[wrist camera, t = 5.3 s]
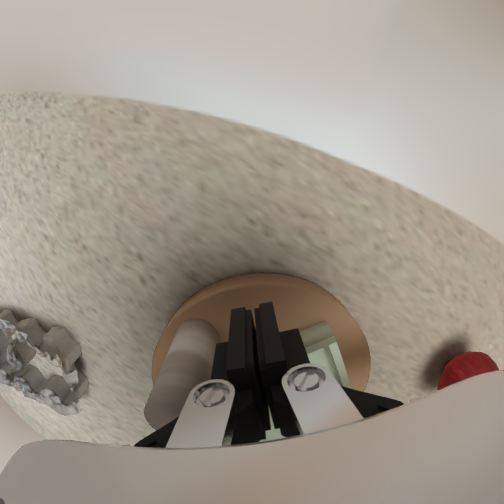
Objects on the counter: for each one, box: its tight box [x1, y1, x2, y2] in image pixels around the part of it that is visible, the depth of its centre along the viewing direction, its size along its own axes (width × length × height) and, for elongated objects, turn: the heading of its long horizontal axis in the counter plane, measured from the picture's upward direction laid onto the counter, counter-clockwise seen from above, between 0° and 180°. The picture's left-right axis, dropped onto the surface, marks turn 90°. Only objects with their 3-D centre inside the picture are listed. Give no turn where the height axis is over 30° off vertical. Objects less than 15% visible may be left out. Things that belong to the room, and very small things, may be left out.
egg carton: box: [0, 308, 89, 416], centre depth 16 cm, size 11×8×4 cm
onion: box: [438, 351, 499, 390], centre depth 15 cm, size 6×6×8 cm
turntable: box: [144, 273, 370, 442], centre depth 13 cm, size 13×13×8 cm
